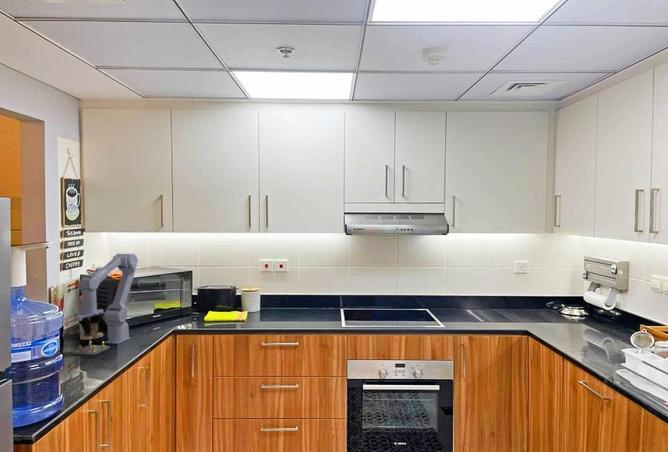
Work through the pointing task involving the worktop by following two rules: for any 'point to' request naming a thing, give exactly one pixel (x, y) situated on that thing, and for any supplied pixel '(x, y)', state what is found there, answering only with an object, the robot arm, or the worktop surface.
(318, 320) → the worktop surface
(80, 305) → the cracker box
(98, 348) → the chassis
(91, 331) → the brown boxy piece
